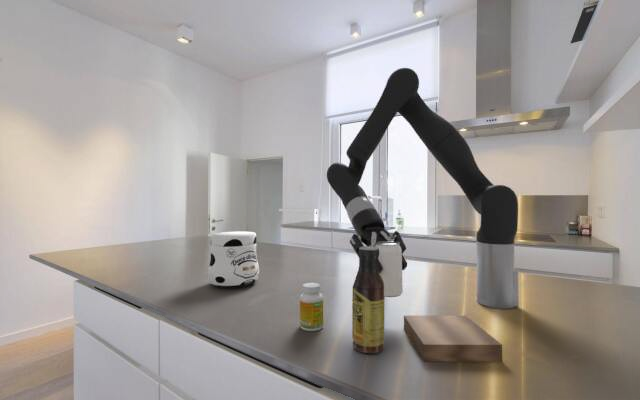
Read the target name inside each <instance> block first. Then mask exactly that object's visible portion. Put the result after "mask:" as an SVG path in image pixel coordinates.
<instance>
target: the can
mask: <svg viewBox="0 0 640 400" xmlns="http://www.w3.org/2000/svg"><path fill="white" fill-rule="evenodd" d="M399 244H400V243H399V242H393V241H381V242H376V246H375V247H377V248H379V257H378V260H379V261H380V263H381V265H382V267H383V270H382V271H381V273H379V274H380V276H381V278H382V279H383V282H384V297H385V298H397V297H400V296H401V295H402V294H403V292H404V290H403V270H402V255H403V254H402V250H401V247H400V245H399Z"/></svg>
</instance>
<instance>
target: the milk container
mask: <svg viewBox="0 0 640 400" xmlns="http://www.w3.org/2000/svg"><path fill="white" fill-rule="evenodd" d="M257 247H258V245H257V233H256V232H254V231H223V232H215V233H214V232H213V233H212V234H211V235H210V262H209V264H208V269H207V278H208V282H209V283H210V285H212V286H214V287H216V288H222V289H233V288H234V289H236V288H237V289H238V288H243V287H247V286H250V285H252V284H254V283H256V282H257V280H258V278H259V275H260V265H259V262H258V258H257Z"/></svg>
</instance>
